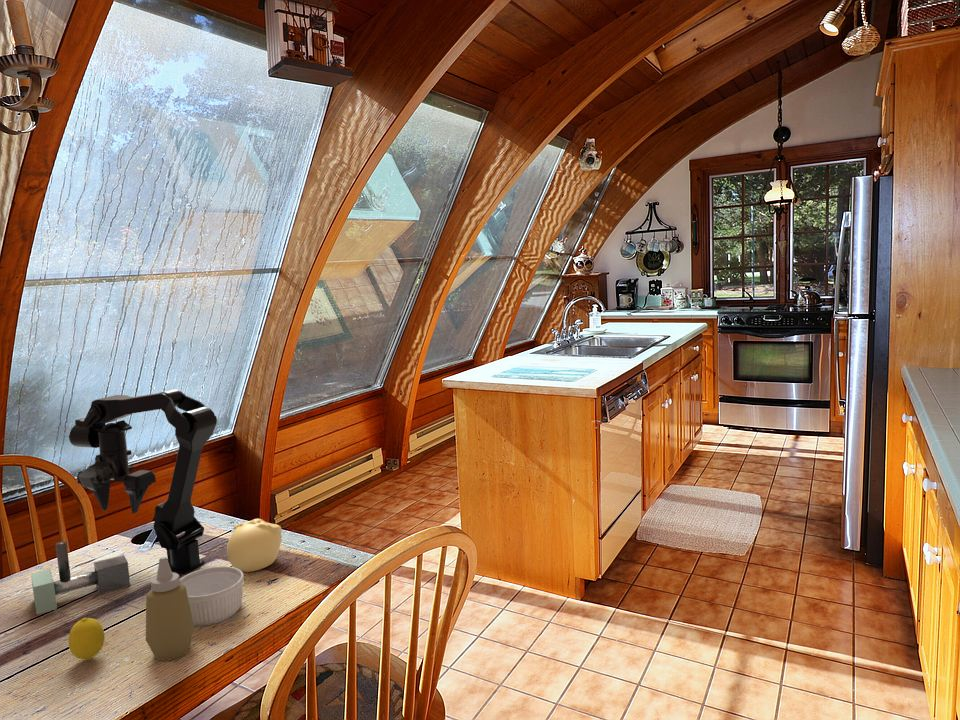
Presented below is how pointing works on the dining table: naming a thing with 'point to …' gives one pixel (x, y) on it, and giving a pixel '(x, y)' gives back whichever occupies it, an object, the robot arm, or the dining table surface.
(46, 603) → the socket block
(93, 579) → the dark grey l-shaped piece
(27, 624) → the dining table surface
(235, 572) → the ramekin
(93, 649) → the lemon
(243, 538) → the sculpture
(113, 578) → the grey cubic block
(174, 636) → the squeeze bottle
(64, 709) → the dining table surface
